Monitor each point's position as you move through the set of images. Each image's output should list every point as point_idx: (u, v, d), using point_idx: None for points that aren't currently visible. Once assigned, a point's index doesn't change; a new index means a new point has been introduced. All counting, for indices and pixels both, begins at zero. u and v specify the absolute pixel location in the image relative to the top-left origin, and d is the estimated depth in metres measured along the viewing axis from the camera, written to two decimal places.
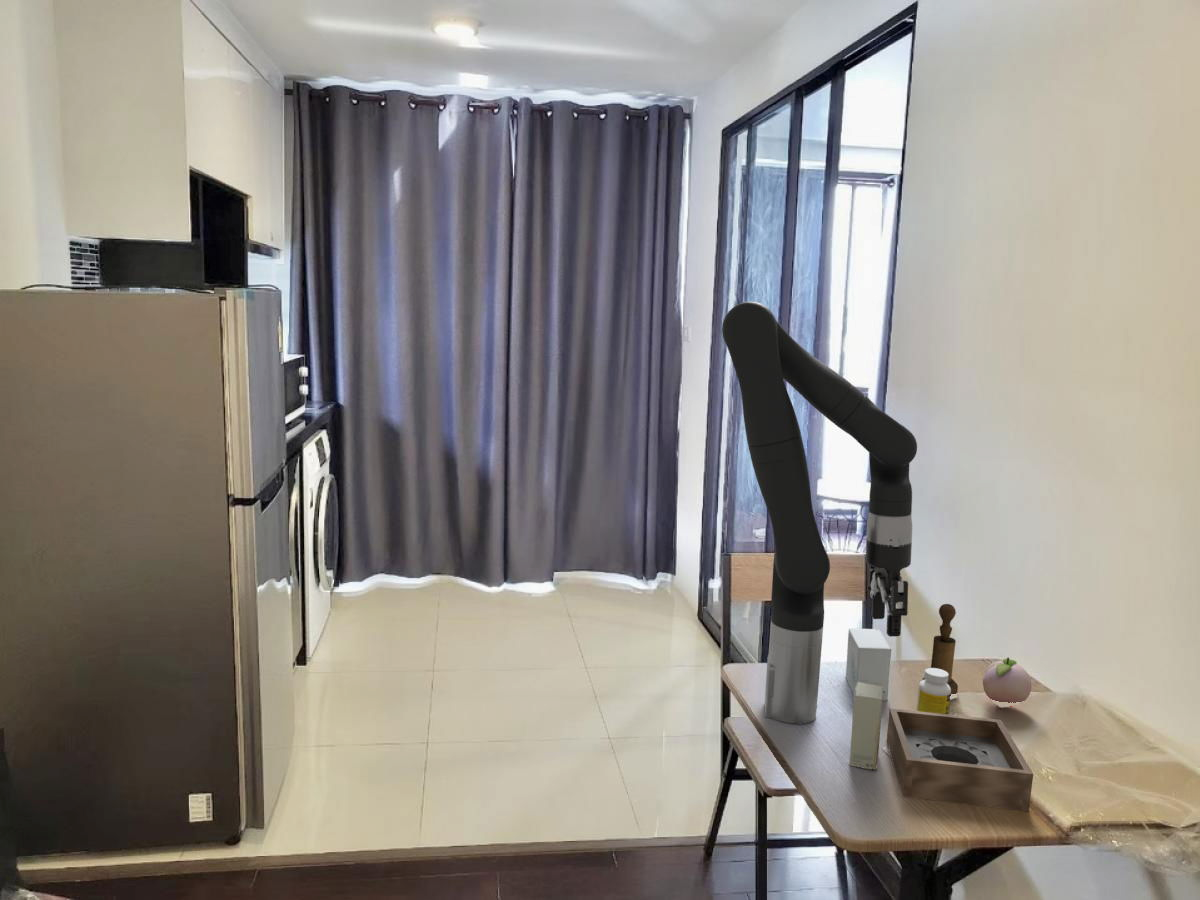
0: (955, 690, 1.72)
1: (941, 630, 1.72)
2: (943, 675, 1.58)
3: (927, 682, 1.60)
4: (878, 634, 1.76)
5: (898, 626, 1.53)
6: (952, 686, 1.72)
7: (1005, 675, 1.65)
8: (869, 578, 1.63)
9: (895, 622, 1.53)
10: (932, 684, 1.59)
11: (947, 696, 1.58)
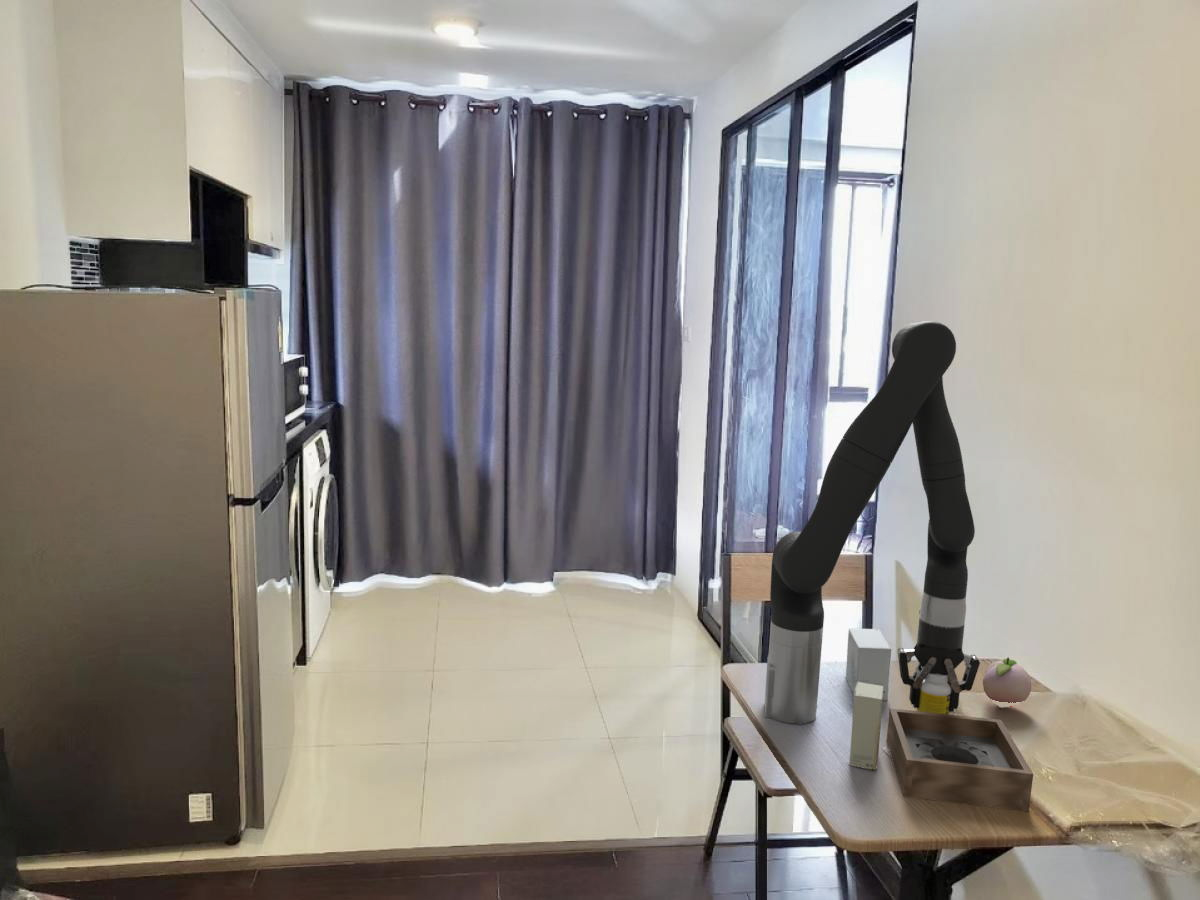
0: None
1: None
2: (943, 675, 1.58)
3: (927, 682, 1.60)
4: (878, 634, 1.76)
5: None
6: None
7: (1005, 675, 1.65)
8: (906, 671, 1.60)
9: None
10: (932, 684, 1.59)
11: (947, 696, 1.58)
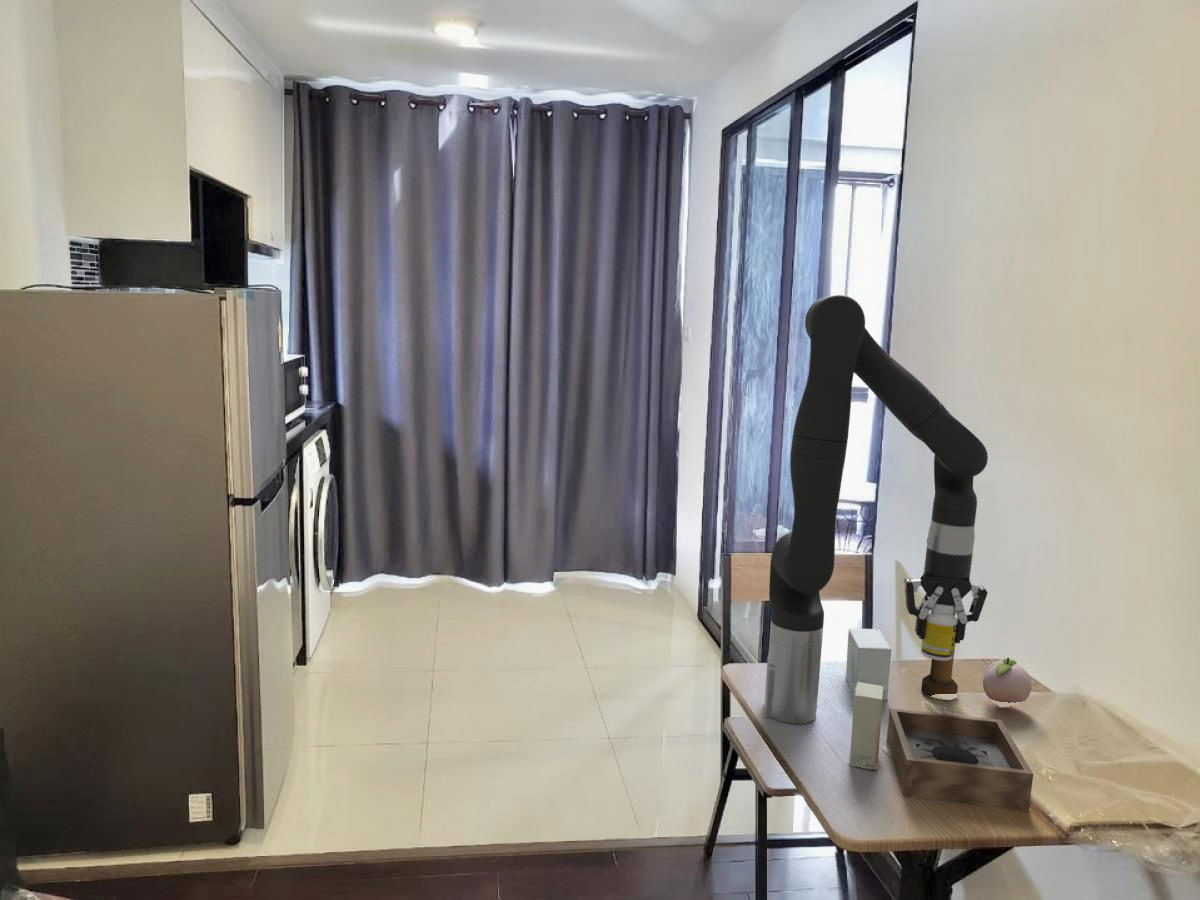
0: (955, 690, 1.72)
1: None
2: (950, 606, 1.56)
3: (933, 613, 1.57)
4: (878, 634, 1.76)
5: None
6: (952, 686, 1.72)
7: (1005, 675, 1.65)
8: (912, 600, 1.57)
9: None
10: (938, 614, 1.57)
11: (953, 626, 1.56)
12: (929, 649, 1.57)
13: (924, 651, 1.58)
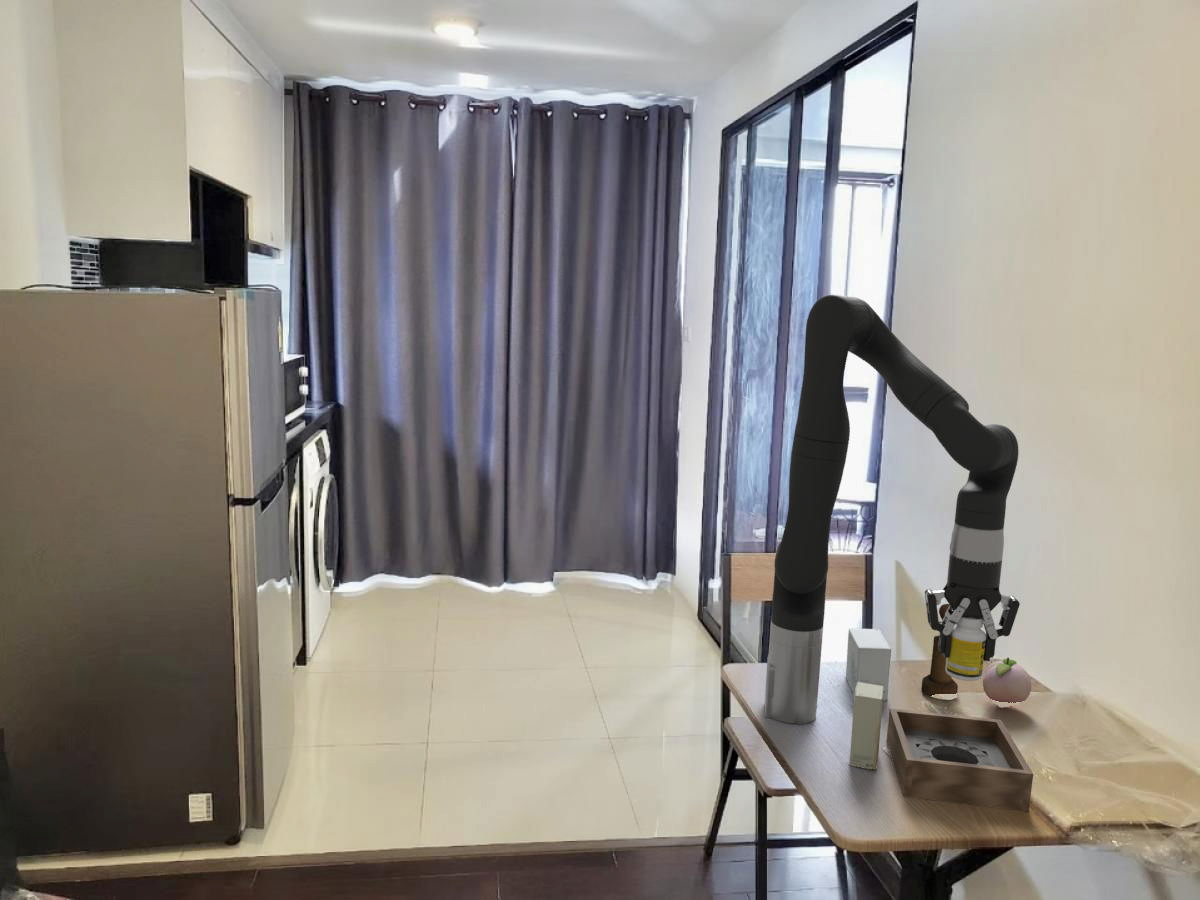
0: (955, 690, 1.72)
1: None
2: (978, 619, 1.39)
3: (959, 627, 1.40)
4: (878, 634, 1.76)
5: None
6: (952, 686, 1.72)
7: (1005, 675, 1.65)
8: (935, 614, 1.40)
9: None
10: (965, 629, 1.39)
11: (982, 642, 1.38)
12: (955, 668, 1.40)
13: (950, 671, 1.41)
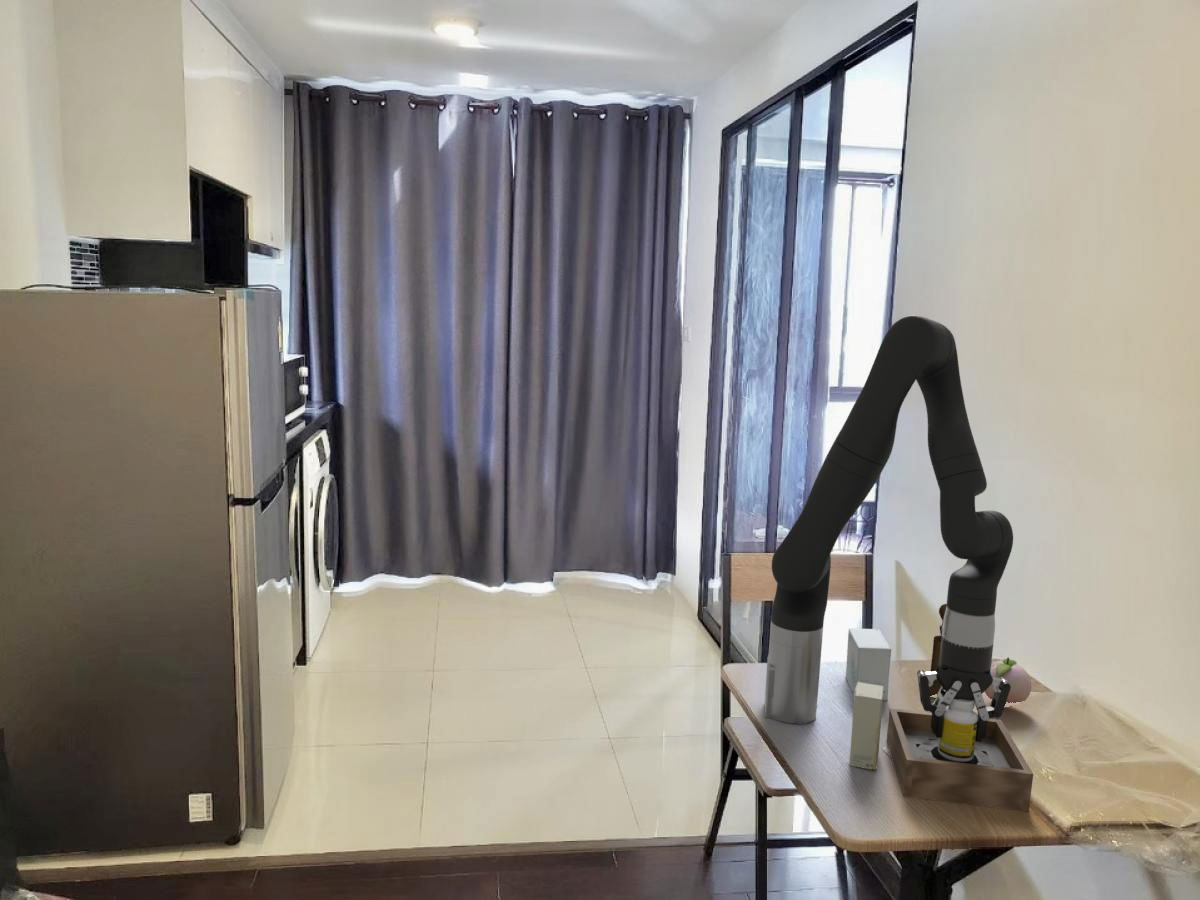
0: None
1: (941, 630, 1.72)
2: (970, 701, 1.41)
3: (951, 708, 1.42)
4: (878, 634, 1.76)
5: None
6: None
7: (1005, 675, 1.65)
8: (927, 696, 1.42)
9: None
10: (957, 711, 1.41)
11: (973, 724, 1.40)
12: (947, 748, 1.42)
13: (942, 751, 1.42)
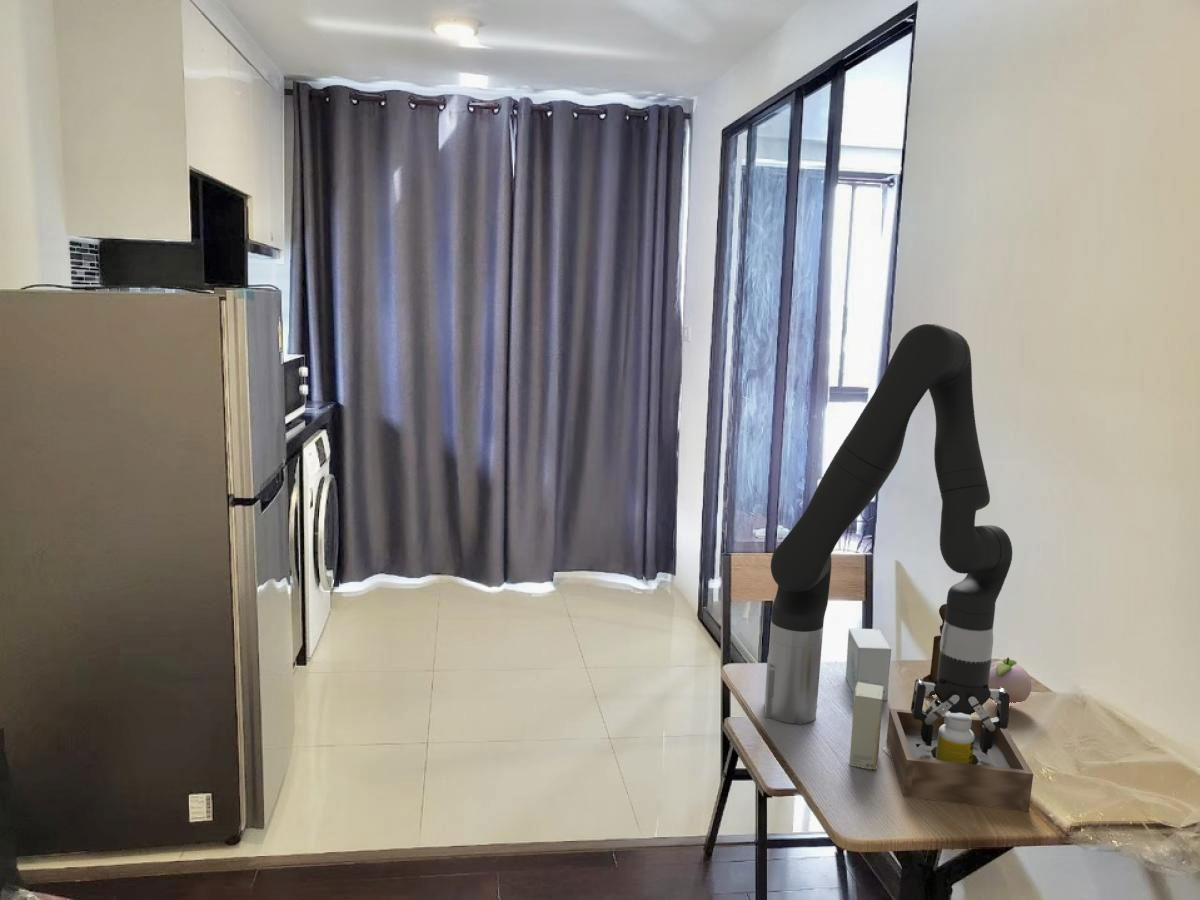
0: None
1: (941, 630, 1.72)
2: (966, 721, 1.41)
3: (948, 728, 1.42)
4: (878, 634, 1.76)
5: None
6: None
7: (1005, 675, 1.65)
8: (920, 705, 1.42)
9: None
10: (953, 730, 1.41)
11: (970, 744, 1.41)
12: None
13: None
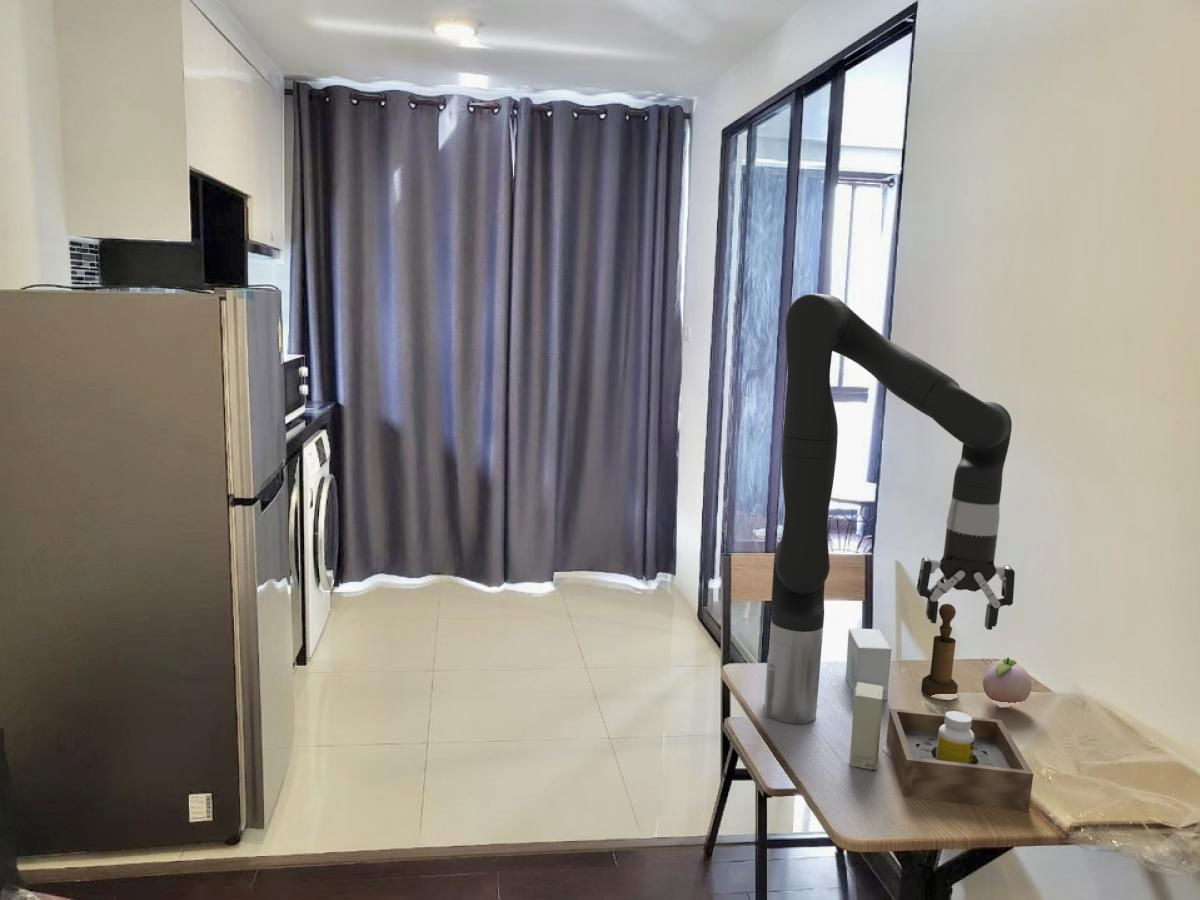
0: (955, 690, 1.72)
1: (941, 630, 1.72)
2: (966, 721, 1.41)
3: (948, 728, 1.42)
4: (878, 634, 1.76)
5: None
6: (952, 686, 1.72)
7: (1005, 675, 1.65)
8: (926, 581, 1.44)
9: None
10: (953, 730, 1.41)
11: (970, 744, 1.41)
12: None
13: None
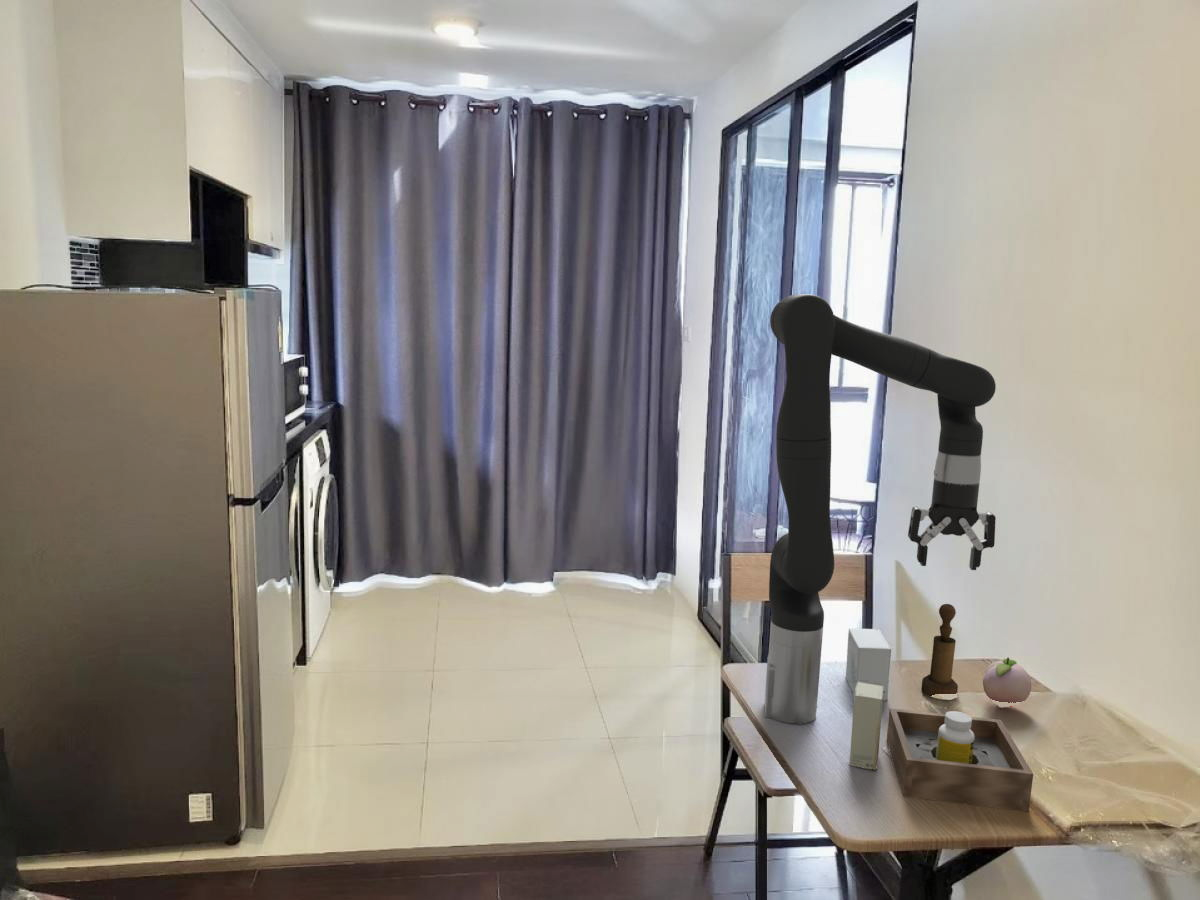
0: (955, 690, 1.72)
1: (941, 630, 1.72)
2: (966, 721, 1.41)
3: (948, 728, 1.42)
4: (878, 634, 1.76)
5: None
6: (952, 686, 1.72)
7: (1005, 675, 1.65)
8: (916, 528, 1.59)
9: None
10: (953, 730, 1.41)
11: (970, 744, 1.41)
12: None
13: None
